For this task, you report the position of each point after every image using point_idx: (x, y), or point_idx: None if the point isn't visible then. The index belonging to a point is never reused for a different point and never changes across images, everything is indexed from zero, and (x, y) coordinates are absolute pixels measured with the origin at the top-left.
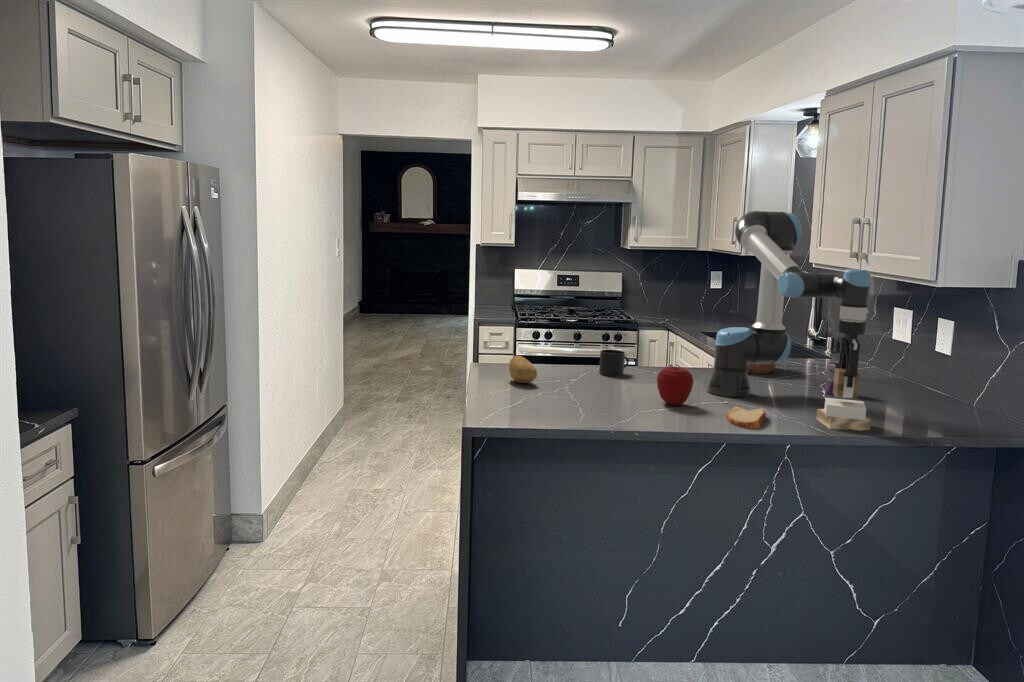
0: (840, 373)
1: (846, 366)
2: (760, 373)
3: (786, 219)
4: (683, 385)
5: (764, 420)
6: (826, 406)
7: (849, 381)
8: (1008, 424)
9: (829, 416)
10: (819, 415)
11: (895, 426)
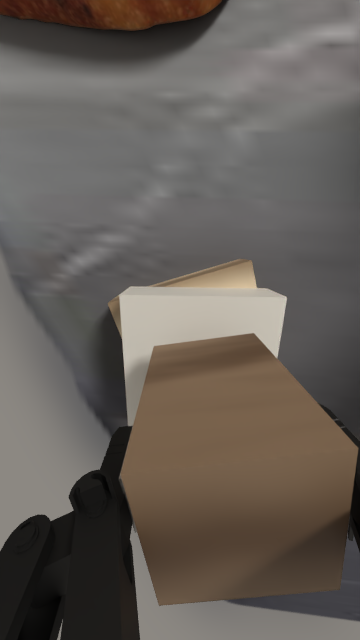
0: (129, 466)
1: (104, 622)
2: None
3: None
4: None
5: (83, 25)
6: (139, 293)
7: (104, 470)
8: (339, 612)
9: None
10: (217, 268)
11: None
